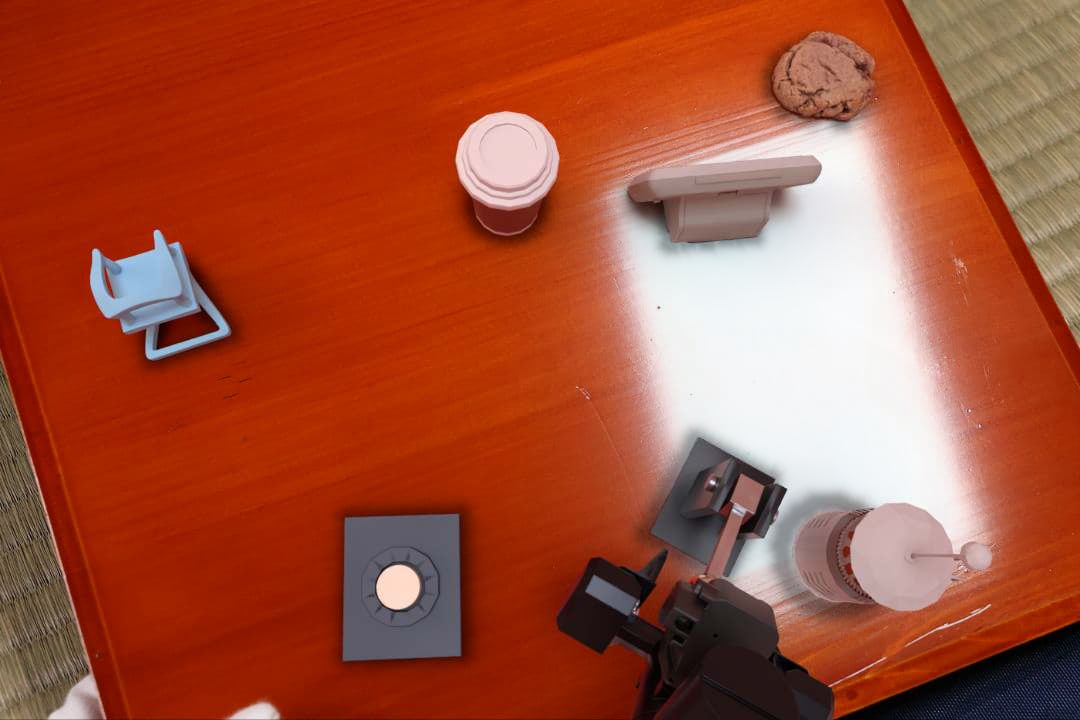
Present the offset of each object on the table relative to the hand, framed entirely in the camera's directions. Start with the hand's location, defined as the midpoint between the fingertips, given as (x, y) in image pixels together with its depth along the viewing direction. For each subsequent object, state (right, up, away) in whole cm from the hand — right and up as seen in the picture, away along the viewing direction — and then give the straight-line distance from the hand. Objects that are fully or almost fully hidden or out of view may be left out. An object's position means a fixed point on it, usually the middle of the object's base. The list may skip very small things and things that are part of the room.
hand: (709, 578), depth 66 cm
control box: (-25, -3, +11) cm, 27 cm away
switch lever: (+1, +1, +2) cm, 3 cm away
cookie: (+16, +45, +24) cm, 54 cm away
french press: (+15, -1, +13) cm, 20 cm away
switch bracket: (+3, +3, +14) cm, 14 cm away
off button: (-25, -3, +7) cm, 26 cm away
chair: (-47, +22, +16) cm, 54 cm away
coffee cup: (-16, +32, +19) cm, 41 cm away
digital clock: (+4, +32, +21) cm, 39 cm away
